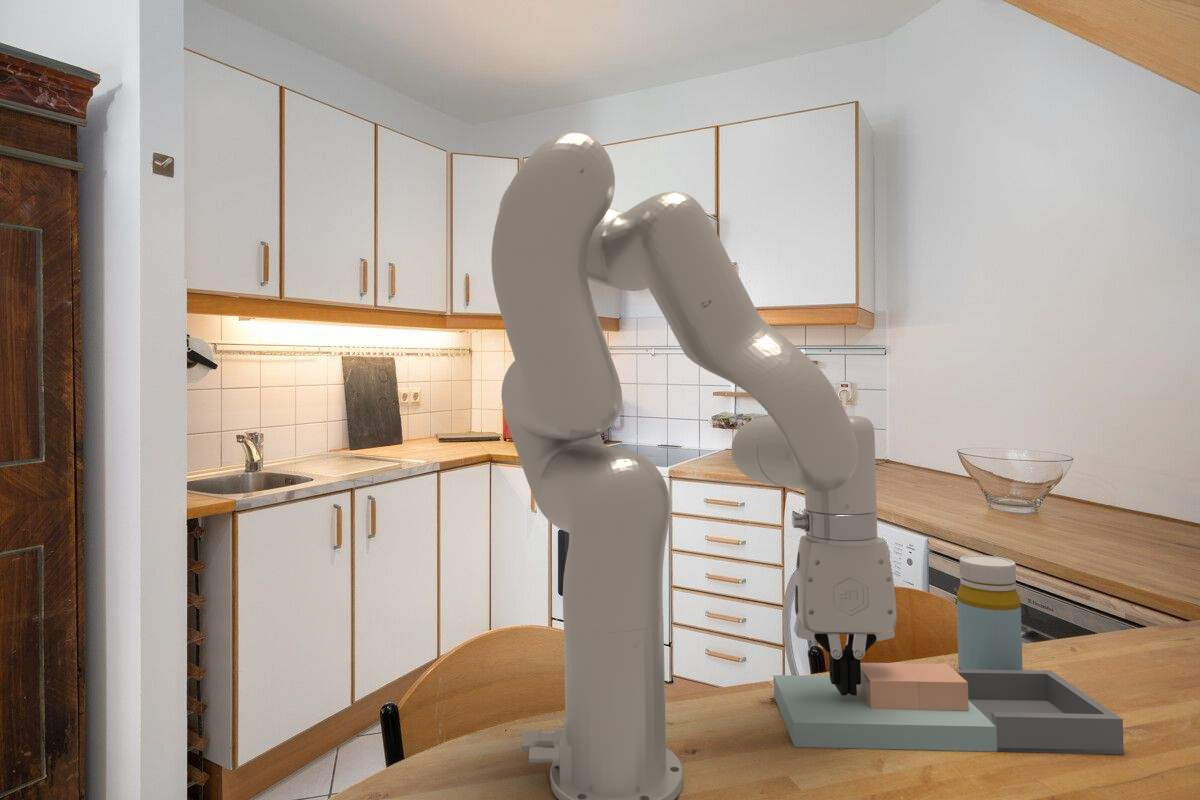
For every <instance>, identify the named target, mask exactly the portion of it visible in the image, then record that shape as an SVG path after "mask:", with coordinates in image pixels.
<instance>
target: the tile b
mask: <svg viewBox="0 0 1200 800" xmlns="http://www.w3.org/2000/svg"><path fill="white" fill-rule="evenodd" d="M901 663H902V662H901ZM902 664H903V665H904V666H905V667H906V668H907V670H908V671H909V672H910V673H911V674H912V675H913V676H914V677H915V678H916V679H917V680H918V681H919V710H954V711H969V706H968V682H967V681H966V680H965V679H964V678H962V677H961V676H960V675H959V674H958V673H957V672H956V671H955V670H954V669H955V668H953V667H952V666H951V665H949V663H913V662H911V663H907V662H906V663H902Z"/></svg>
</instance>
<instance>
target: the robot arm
mask: <svg viewBox="0 0 1200 800" xmlns="http://www.w3.org/2000/svg"><path fill="white" fill-rule="evenodd" d="M612 162H613V161H612V160H611V157H610V155H609V153H608V151H607V150H606V149H605V147H604V146H603V144H602V143H601V142H600V141H598V140H597V139H596V138H595V137H592V136H590V135H589V134H586V133H583V132H575V131H574V132H564V133H562V134H557V135H556V136H553V137H551V138H550V139H548V140H545V142H543V143H542V144H540V145H539V147H537V148H536V149H535V150H534V151H533V152H532V153H531V154H530V156H529V157H528V158H527V159H526V160H525V162H523V164H522V165H521V167H520V168H519V169H518V171H517V172H516V174H515V175H514V177H513V179H512V180H511V182H510V184H509V185H508V187H507V188H506V190H505V191H504V193H503V194H502V197H501V200H500V202H499V208H498V214H497V217H496V222H495V224H494V225H495V226H494V231H493V237H492V243H491V244H492V245H491V275H492V282H493V289H494V293H495V296H496V297H495V298H496V301H497V304H498V308H499V312H500V315H501V318H502V322H503V325H504V329H505V332H506V336H507V339H508V342H509V345H510V348H511V352H512V354H513V357H514V360H513V362H512V363H511V365H510V366H509V367H508V368H507V370H506V373H505V375H504V377H503V380H502V383H501V405H502V411H503V415H504V420H505V422H506V425H507V428H508V431H509V433H510V434H509V435H510V437H511V439H512V442H513V445H514V448H515V450H516V453H517V456H518V458H519V461H520V465H521V468H522V469H523V473H524V476H525V479H526V481H527V484H528V486H529V489H530V492H531V494H532V497H533V499H534V501H535V503H536V505H537V507H538V509H539V510H540V513H542V515H543V516H544V517H545V518H546V520H547V521H548V522H550V523H551V524H552V525H553V526H555V527H557V528H558V529H560V530H562V531H564V532H566V533H568V547H567V554H566V559H565V565H564V571H563V582H562V619H563V655H564V656H563V657H564V659H563V660H564V703H565V705H564V706H565V710H564V711H565V723H564V726H563V727H555V728H554V731H544V730H543V731H542V730H541V729H523V730H522V733H521V742H520V750H521V752H522V753H528V763H529V764H544V763H545V764H546V763H547V764H548V763H549V764H551V767H550V773H549V775H550V777H549V780H550V781H549V782H550V788H551V791H552V793H553V795H554V796H555V797H556V798H557V799H558V800H676V798H677V797H678V796H679V795H680V793H681V792H682V788H683V785H684V768H683V764H682V763H681V761H680V759H679V758H678V756H677V755H676V754H675V753H674V752H673V751H672V750H671V749H669V748H667V726H666V725H667V724H666V723H667V722H666V682H665V681H666V678H665V675H666V674H665V673H666V672H665V638H664V637H665V631H664V630H665V629H664V628H665V627H664V623H665V622H664V606H663V605H664V600H663V599H664V597H663V590H664V589H663V585H664V584H663V582H664V562H665V561H664V559H665V552H666V543H667V536H668V532H669V531H668V530H669V525H670V514H671V500H670V493H669V490H668V486H667V483H666V481H665V479H664V477H663V475H662V473H661V472H660V470H659V469H658V467H657V466H656V465H655V464H654V463H653V462H652V461H651V460H650V459H648V458H647V457H645V456H643V455H641V454H639V453H638V452H635V450H634V451H633V450H631V449H627V448H623V447H617V446H609V445H605V444H604V443H605V442H604V440H603V439H602V438H603V437H602V435H601V434H603V433H604V432H606V431H607V430H608V429H609V430H610V428H611V427H612V426H613V425H614V424H615V422H616V421H617V419H618V417H619V415H620V413H621V409H622V405H623V391H622V386H621V382H620V378H619V375H618V373H617V369H616V366H615V363H614V361H613V358H612V354H611V352H610V349H609V346H608V342H607V340H606V337H605V334H604V331H603V328H602V326H601V323H600V320H599V316H598V313H597V311H596V307H595V305H594V304H595V303H594V300H593V297H592V292H591V289H590V285H589V280H590V281H593V282H595V283H597V284H601V285H605V286H606V287H611V288H614V289H618V290H622V291H623V290H624V291H630V292H636V291H637V292H638V291H644V290H646V289H648V291H649V292H650V294H651V295H652V297H653V299H654V300H655V302H656V304H657V306H658V307H659V310H660V312H661V313H662V315H663V316H664V318H665V320H666V322H667V324H668V325H669V327H670V330H671V331H672V333H673V335H674V337H675V339H676V341H677V342H678V344H679V346H680V347H681V349H682V352H683V354H684V355H685V356H686V357H687V358H688V359H689V361H691V362H692V363H694V364H696V365H697V366H699V367H701V368H703V369H704V370H705V371H708V372H709V373H711V374H713V375H716V376H717V377H720V378H722V379H724V380H726V381H728V382H730V383H732V384H733V385H736V386H737V387H739V388H740V389H741V390H743V391H744V392H746V393H747V394H748V395H749V396H751V397H752V398H753V399H754V400H755V401H757V403H758V404H760V406H761V407H762V408H763V409H764V410H765V411H766V412H767V413H768V415H767V416H759V417H756V418H753V419H751V420H749V421H747V422H746V423H743V425H742V426H740V428H739V429H738V430H737V432H735V435H734V436H733V438H732V442H731V456H732V459H733V463H734V464H735V466H736V467H737V469H738V470H739V471H740V472H741V473H742V474H743V475H744V476H745V477H747V478H748V479H751V480H753V481H756V482H759V483H764V484H767V485H773V486H778V487H789V488H795V489H801V490H804V503H805V505H804V506H805V507H804V508H803V512H802V514H799V516H798V515H795V516H792V526H793V528H794V529H800V530H803V531H804V532H805V534H804V535H802V536H801V535H800V539H799V545H798V548H797V549H798V550H797V557H796V565H795V567H796V568H795V578H794V579H795V581H794V611H795V615H796V618H795V622H794V627H793V632H794V634H795V635H796V637H797V638H799V639H802V640H806V641H811V642H817V643H818V644H819V645H820V646H821V647H822V648H823V649H824V650H825V651H826V652H827V653H828V661H829V662H828V663H829V664H828V665H829V667H828V669H829V672H828V673H829V676H830V681H831V683H832V684H835V686H836V688H837V689H838V691H839V692H840V694H841V695H845V696H846V695H847V694H848V693H849V694H851V695H852V696H857V685H860V684H861V665H860V663H861V660H862V659H863V658H864V657H865V653H866V652H868V650H869V649H871V647H872V646H873V645H874V644H875V643H876V642H881V641H885V640H890V639H893V638H895V636H896V632H895V629H896V627H897V620H898V618H897V617H898V614H897V613H898V612H897V611H898V610H897V599H896V591H895V584H894V576H893V569H892V562H891V557H890V552H889V548H888V545H887V542H886V539H884V538H882V537H879V536H878V512H877V511H878V510H877V509H878V507H877V506H878V505H877V479H876V477H877V476H876V472H877V471H876V439H875V437H876V436H875V427H874V425H873V423H872V421H871V420H870V419H868V417H867V418H866V416H865V417H864V416H861V415H860V416H859V415H848V414H847V412H846V409H845V408H844V406H843V404H842V401H841V400H840V398H839V396H838V394H837V392H836V390H835V388H834V386H833V385H832V384H831V381H830V380H829V379H828V378H827V376H826V375H825V374H824V372H823V371H822V370H821V368H819V366H818V365H816V363H814V361H813V360H812V359H811V358H809V357H808V356H807V354H805V353H804V352H803V351H801V350H800V349H799V348H798V347H797V346H796V345H794V343H792V342H791V341H790V340H789V339H788V338H786V337H785V335H783V334H782V333H780V332H779V330H777V329H775V328H774V327H773V326H771V325H770V324H769V323H768V322H766V320H764V319H763V317H761V315H760V314H759V312H758V310H757V309H756V307H755V305H754V302H753V301H752V299H751V297H750V295H749V293H748V291H747V289H746V287H745V286H744V283H743V282H742V279H741V278H740V275H739V274H738V272H737V270H736V268H735V267H734V265H733V262H732V260H731V259H730V257H729V255H728V252H727V251H726V249H725V247H724V244H723V243H722V241H721V239H720V237H719V235H718V234H717V231H716V230H715V227H714V226H713V223H712V222H711V220H710V218H709V216H708V215H707V212H706V211H705V209H704V208H703V207H702V205H701V204H700V203H699V202H698V201H697V199H695V198H694V197H693V196H692V195H690V194H687V193H685V192H681V191H666V192H661V193H658V194H655V195H653V196H650V197H649V198H647V199H645V200H643V201H641V202H639V203H637V204H636V205H634V206H633V207H632V208H630V209H628V210H627V211H620V210H618V209H614V208H610V207H611V205H612V202H613V200H614V196H615V195H614V194H615V189H616V188H615V187H616V177H615V170H614V166H613V163H612ZM840 635H846V642H845V646H844V649H843V648H842V643H841V639H840V638H841V636H840Z"/></svg>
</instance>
